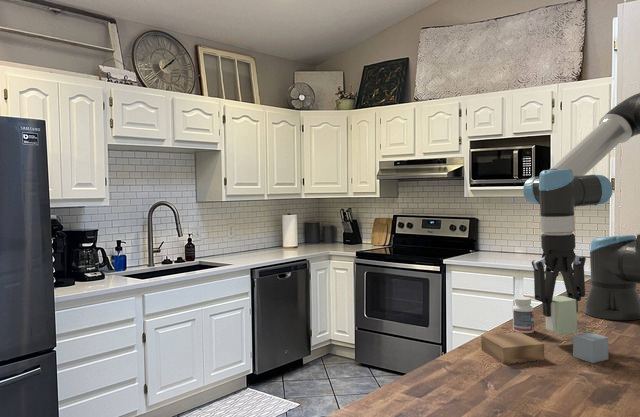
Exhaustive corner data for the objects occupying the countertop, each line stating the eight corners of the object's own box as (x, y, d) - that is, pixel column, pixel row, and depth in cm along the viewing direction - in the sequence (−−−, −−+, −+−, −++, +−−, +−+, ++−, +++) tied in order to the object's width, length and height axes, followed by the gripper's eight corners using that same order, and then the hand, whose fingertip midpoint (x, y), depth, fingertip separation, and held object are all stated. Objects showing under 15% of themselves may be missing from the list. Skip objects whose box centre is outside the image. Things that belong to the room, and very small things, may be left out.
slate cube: (589, 353, 122) (588, 332, 122) (608, 359, 118) (608, 337, 117) (573, 356, 120) (573, 335, 120) (592, 363, 116) (592, 340, 115)
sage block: (563, 327, 132) (562, 295, 132) (577, 332, 127) (576, 299, 127) (545, 329, 131) (544, 297, 131) (559, 335, 126) (558, 302, 126)
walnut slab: (519, 348, 129) (519, 331, 128) (544, 361, 119) (544, 343, 119) (481, 351, 127) (481, 335, 127) (503, 365, 117) (503, 347, 117)
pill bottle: (535, 334, 138) (535, 300, 138) (514, 333, 139) (514, 300, 139) (531, 328, 144) (531, 296, 143) (511, 328, 145) (511, 295, 144)
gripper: (578, 228, 134) (581, 319, 135) (515, 234, 129) (519, 328, 131) (601, 231, 126) (603, 327, 128) (534, 237, 122) (538, 336, 123)
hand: (561, 327), depth 129 cm, fingers closed on sage block, 5 cm apart
